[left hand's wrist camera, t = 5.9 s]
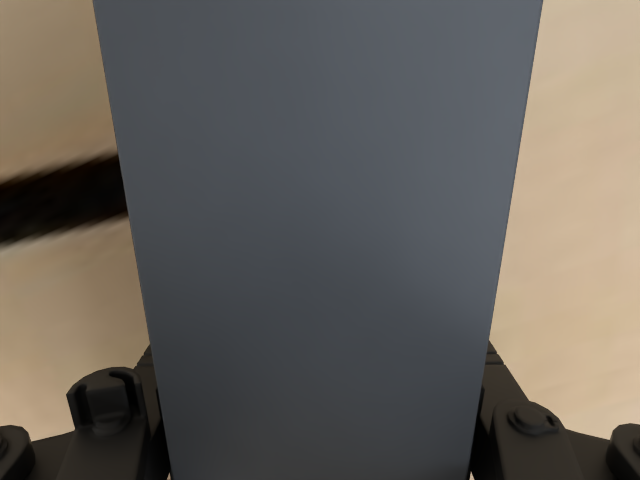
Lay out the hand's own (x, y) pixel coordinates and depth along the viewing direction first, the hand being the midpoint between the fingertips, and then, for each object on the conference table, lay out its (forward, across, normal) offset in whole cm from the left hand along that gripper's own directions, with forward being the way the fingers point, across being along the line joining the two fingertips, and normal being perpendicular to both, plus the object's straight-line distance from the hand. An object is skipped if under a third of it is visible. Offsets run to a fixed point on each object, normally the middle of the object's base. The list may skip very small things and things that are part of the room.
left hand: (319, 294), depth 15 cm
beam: (0, 0, -23) cm, 23 cm away
